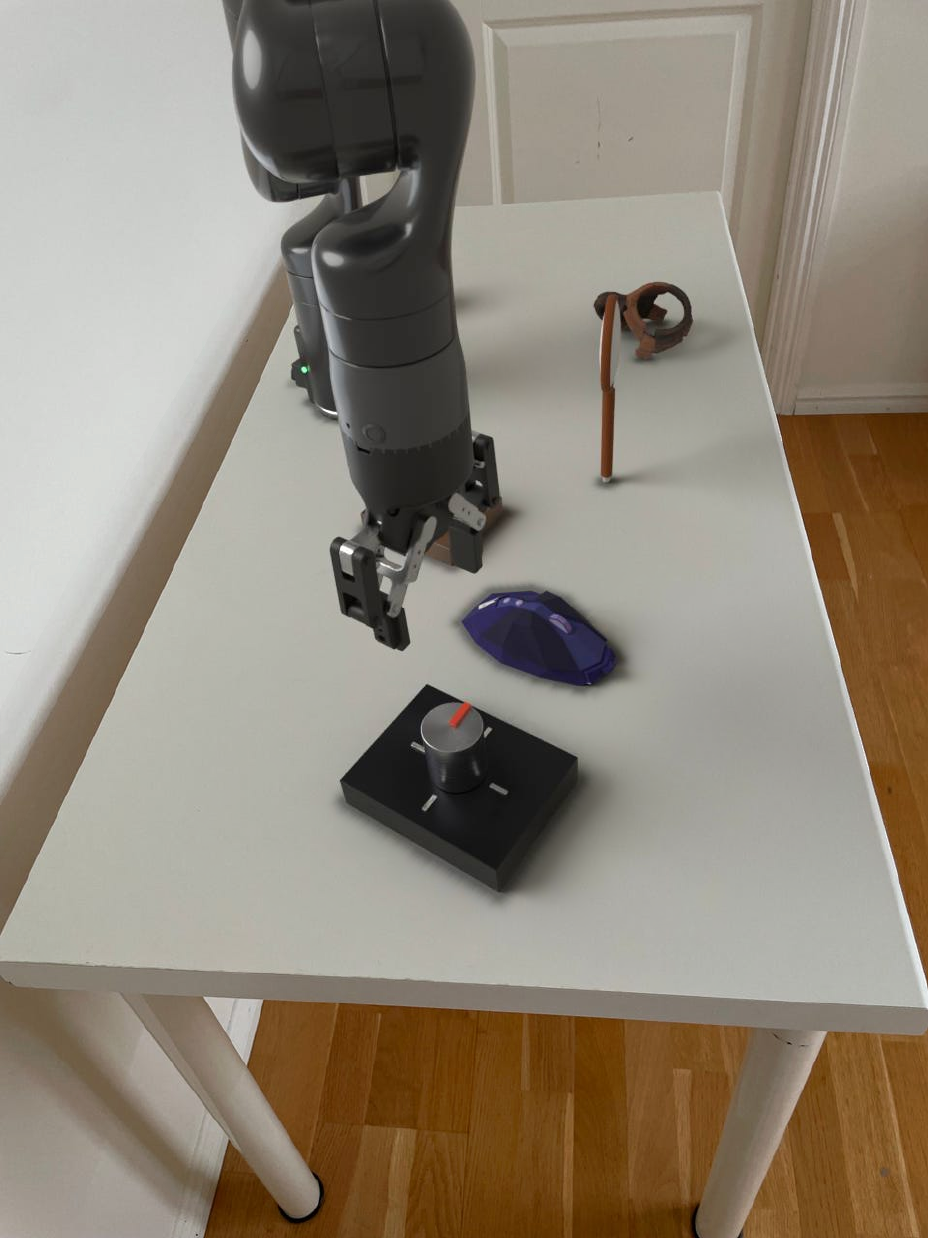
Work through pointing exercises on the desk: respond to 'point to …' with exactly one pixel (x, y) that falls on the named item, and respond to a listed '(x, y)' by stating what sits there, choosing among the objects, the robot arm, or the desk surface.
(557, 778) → the panel
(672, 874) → the desk surface
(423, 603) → the desk surface
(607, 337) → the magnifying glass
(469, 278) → the desk surface
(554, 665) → the computer mouse
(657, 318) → the brown ring sculpture
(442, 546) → the block
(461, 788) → the hob knob
